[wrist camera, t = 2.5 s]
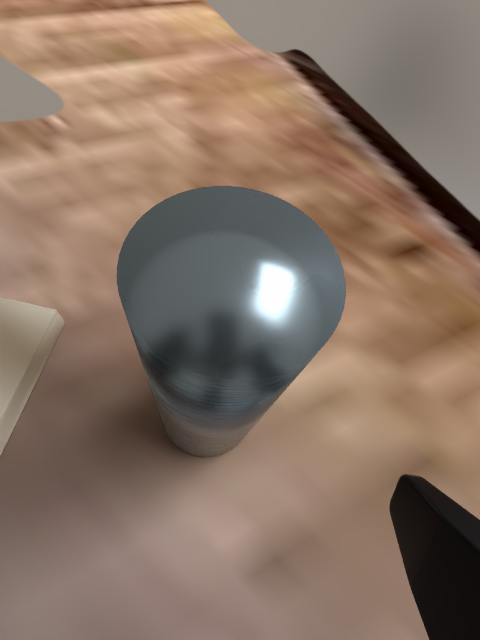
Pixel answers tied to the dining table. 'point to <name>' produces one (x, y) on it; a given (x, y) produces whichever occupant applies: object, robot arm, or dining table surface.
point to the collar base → (22, 356)
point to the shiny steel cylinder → (226, 307)
